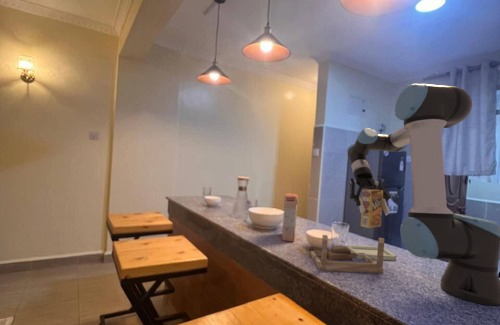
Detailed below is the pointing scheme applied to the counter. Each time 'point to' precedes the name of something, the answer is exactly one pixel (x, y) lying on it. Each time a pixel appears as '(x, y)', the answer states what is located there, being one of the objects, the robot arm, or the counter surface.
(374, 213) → the candy box
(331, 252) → the rack
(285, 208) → the cracker box
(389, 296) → the counter surface
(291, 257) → the counter surface
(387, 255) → the tray
